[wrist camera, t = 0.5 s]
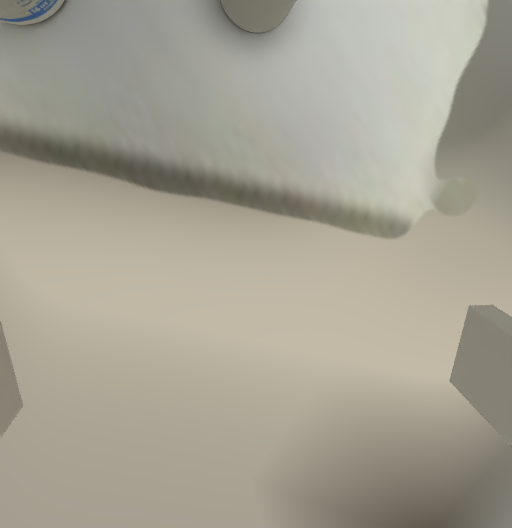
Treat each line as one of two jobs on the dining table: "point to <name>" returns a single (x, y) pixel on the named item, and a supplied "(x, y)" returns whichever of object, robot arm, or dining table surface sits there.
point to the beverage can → (257, 13)
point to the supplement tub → (27, 10)
